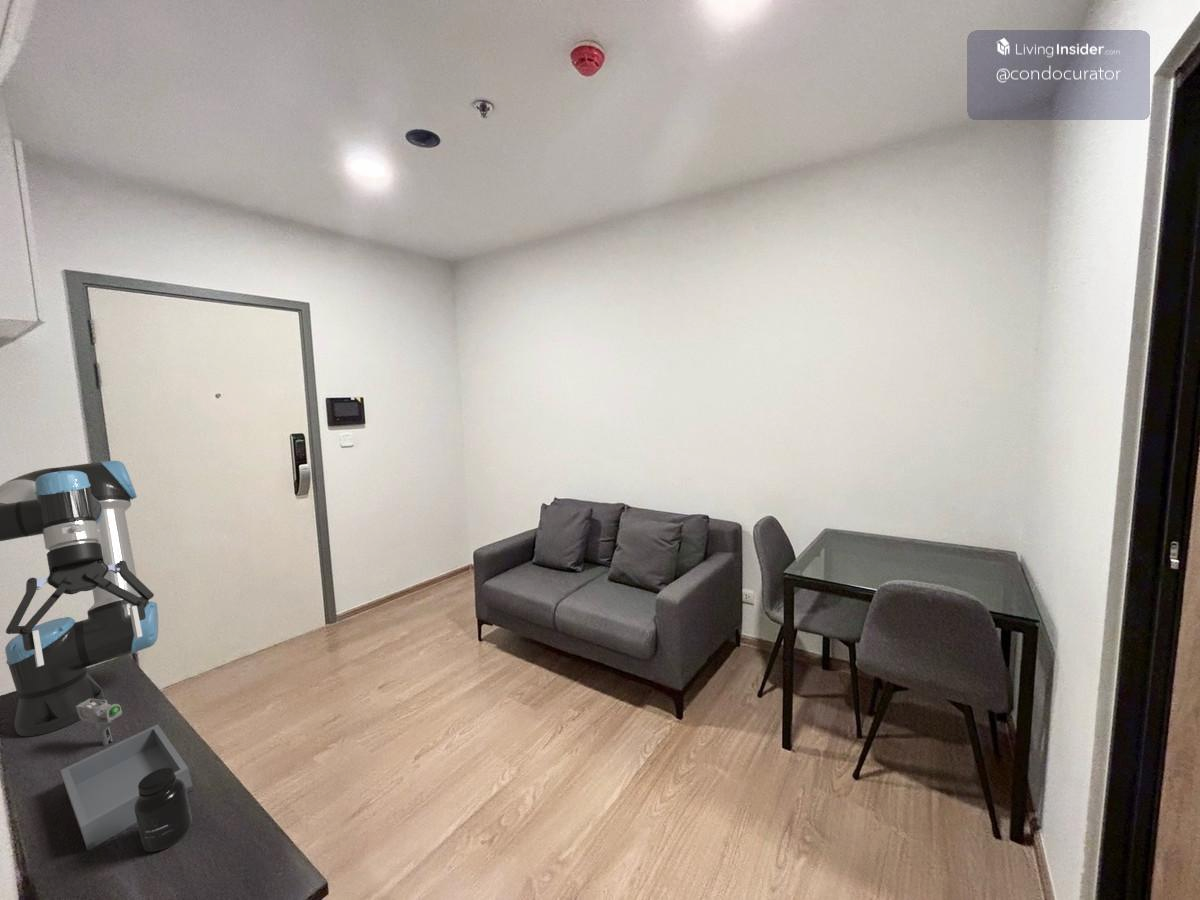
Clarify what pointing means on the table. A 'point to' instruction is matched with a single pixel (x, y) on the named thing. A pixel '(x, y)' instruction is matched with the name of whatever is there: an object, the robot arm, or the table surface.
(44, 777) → the table surface
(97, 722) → the mechanical component
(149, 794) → the supplement bottle
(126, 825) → the bin
